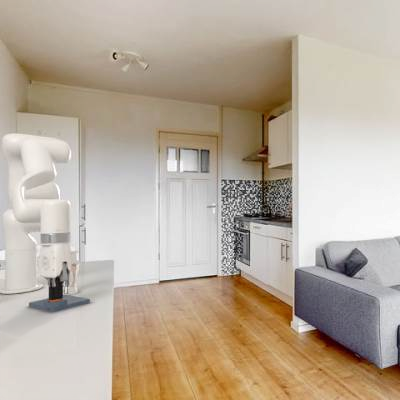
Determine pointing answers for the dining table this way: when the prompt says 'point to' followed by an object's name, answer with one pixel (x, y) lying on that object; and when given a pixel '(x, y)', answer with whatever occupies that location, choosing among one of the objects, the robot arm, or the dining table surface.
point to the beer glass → (72, 275)
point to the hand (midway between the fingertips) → (55, 298)
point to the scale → (59, 303)
